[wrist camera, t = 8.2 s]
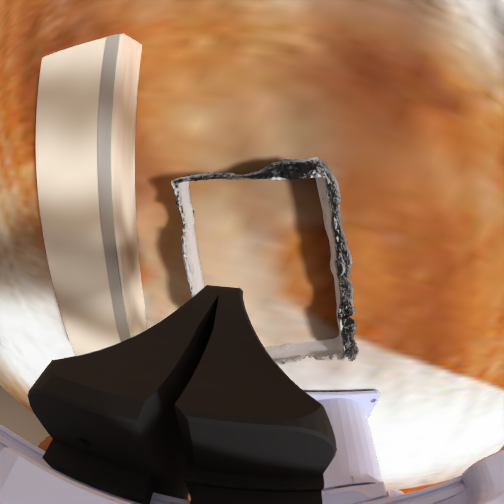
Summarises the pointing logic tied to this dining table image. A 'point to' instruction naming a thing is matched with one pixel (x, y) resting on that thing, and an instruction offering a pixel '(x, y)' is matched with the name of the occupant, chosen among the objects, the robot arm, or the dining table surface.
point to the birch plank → (91, 189)
